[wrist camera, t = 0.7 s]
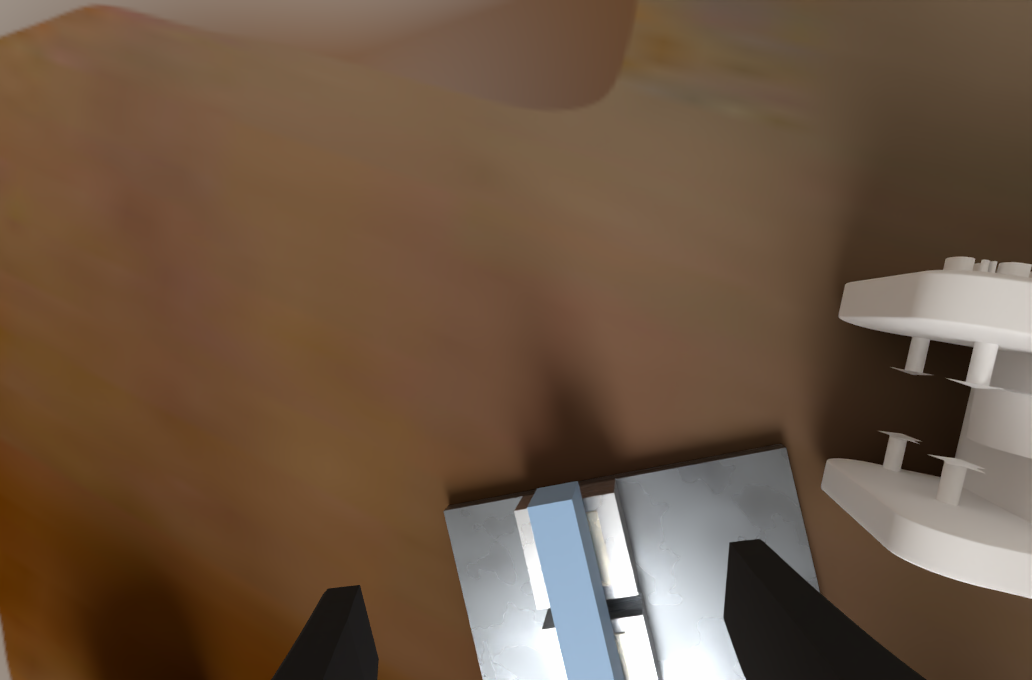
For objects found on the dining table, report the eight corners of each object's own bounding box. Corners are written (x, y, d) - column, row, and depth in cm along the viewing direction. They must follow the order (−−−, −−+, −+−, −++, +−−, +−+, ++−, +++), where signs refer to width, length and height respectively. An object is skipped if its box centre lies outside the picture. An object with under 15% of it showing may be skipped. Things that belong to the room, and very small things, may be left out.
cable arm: (670, 804, 29) (675, 859, 26) (595, 810, 30) (592, 864, 27) (594, 477, 29) (590, 496, 26) (521, 491, 30) (509, 510, 27)
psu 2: (637, 573, 32) (638, 595, 30) (544, 587, 33) (536, 610, 30) (615, 479, 32) (614, 493, 30) (522, 496, 33) (513, 511, 31)
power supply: (664, 686, 32) (666, 718, 30) (569, 697, 33) (564, 729, 30) (641, 592, 32) (642, 616, 30) (548, 606, 33) (541, 630, 30)
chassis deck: (862, 789, 32) (869, 804, 31) (522, 818, 35) (518, 832, 34) (781, 443, 32) (785, 447, 31) (448, 505, 35) (443, 511, 34)
